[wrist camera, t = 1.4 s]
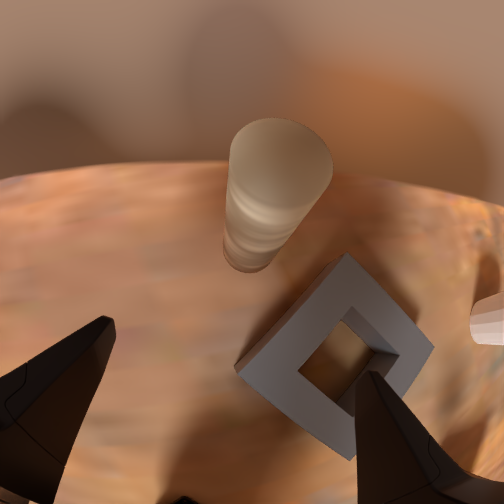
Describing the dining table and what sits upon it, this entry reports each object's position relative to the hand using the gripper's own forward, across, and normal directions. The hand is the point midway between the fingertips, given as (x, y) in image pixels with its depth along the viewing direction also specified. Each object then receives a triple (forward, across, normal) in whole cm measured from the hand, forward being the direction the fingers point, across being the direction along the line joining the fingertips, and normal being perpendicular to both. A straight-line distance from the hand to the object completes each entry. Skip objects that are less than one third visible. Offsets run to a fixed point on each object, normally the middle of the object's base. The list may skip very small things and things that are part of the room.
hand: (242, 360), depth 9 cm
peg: (+15, 0, +4) cm, 16 cm away
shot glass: (+14, -30, +6) cm, 34 cm away
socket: (+10, -9, +10) cm, 16 cm away
